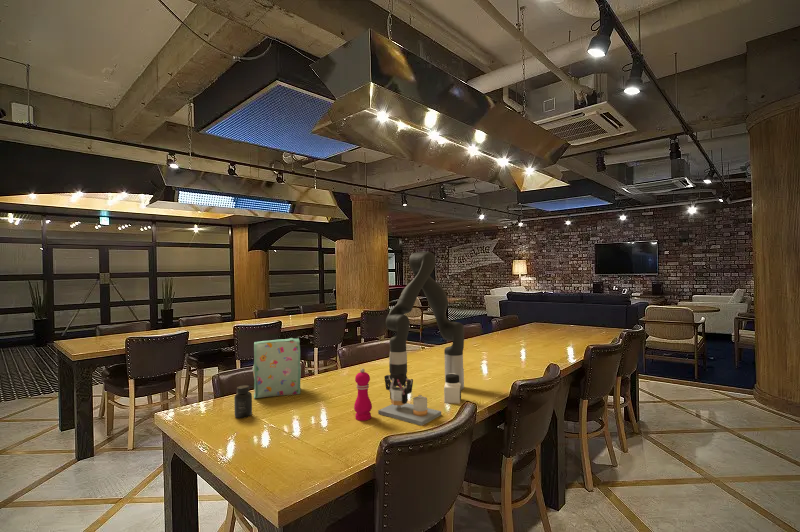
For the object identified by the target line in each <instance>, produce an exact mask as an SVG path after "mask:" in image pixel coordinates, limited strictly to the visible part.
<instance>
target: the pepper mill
mask: <svg viewBox="0 0 800 532" xmlns="http://www.w3.org/2000/svg"><path fill="white" fill-rule="evenodd" d="M370 380H371V376H370V374H369V373H368V372H366V371H365V368H363V367H362V368H361V369H360V372H358V373H357V374H356V375H355V378H354V382H355V383H356V385H355V386H356V389H357V396H356V398H355V402H354V405H353V410H354V411H355V415H354V417H355V419H356V420H357V421H361V422H364V421H368V420H370V419H371V418H372V413H371V411H372V410H373V406H372V401H371V399H370V396H369V388H370V385H369V382H370Z"/></svg>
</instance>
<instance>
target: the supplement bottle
mask: <svg viewBox="0 0 800 532" xmlns="http://www.w3.org/2000/svg"><path fill="white" fill-rule="evenodd" d="M233 400H234V401H233V403H234V404H233V405H234V406H233V407H234V417H235V418H236V419H245V418H244V417H246V418H249V417H251V416H252V414H253V394H252V393H251V392H250V385H245V384H244V385H240V386H237V387H236V394H234V398H233ZM250 415H251V416H250ZM248 416H249V417H248Z"/></svg>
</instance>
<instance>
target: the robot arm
mask: <svg viewBox="0 0 800 532" xmlns="http://www.w3.org/2000/svg"><path fill="white" fill-rule="evenodd" d="M436 259H437V258H436V256H435V254H434V253H432V252H431V251H419V252H412V253H411V254H410V256H409V258H408V260H409V261H408V263H409V267H410V269H411V271H412V272H413V275H414V276H415V277H414V278H413V279H412V280H411V281H410V282H409V283H408V284H407V285H406V286H405V287H404V288H403V289H402V291H401V293H400V295H399V298H398V300H397V303H396V304H395V305H394V307H393V308H392V309H391V310H390V312H389V313H388V314H387V316H386V318H385V326H386V328H387V330H389V331H395V332H396V335H395V336H392V337H390V339H389V354H388V355H389V356H388V357H389V358H388V361H389V362H388V364H389V370H388V371H389V372H388V373H389V374H386V375H385V376H384V384H385V385H384V386H385V390H387V391H389V399H390V400H391V388H394V387H400V390H402V394H403V395H402V400H403V404H405V403H408V401H409V400H408V399H409V398H408V397H409V396H408V395H410V394H412V392H413V386H414V379H413V378H408V355H407V353H408V352H407V340H408V335H409V331H410V328H411V321H410V319H409V317H408V316H407V315H406V314H409V313H411V311H412V310H413V308H414V305H415V303H416V301H417V298H418V296H419V294H420V292H421V291H422V292H423V293H424V296H425V298H426V300H427V302H428V305H429V306H430V307H429V308H431V311H432V313H433V315H434V318H435V320H436V323H437V327H438V330H439V334H440V335H441V337H442V338H443V339H444V340H446V341H452V344H451V346H447V347H445V348H444V350H443V351H444V352H443V353H444V384H445V383H446V375H447V374H451V373H454V374H457V375H459V383H460V384H461V391H463V390H464V389H465V372H464V371H465V369H464V347H465V327H464V324H462V323H461V322H459V321H458V322H456V321H450V320H449V319H448V317H447V313H446V312H447V309H448V304H449V299H448V296H447V294H446V292H445V290H444V288H443V287H442V286H441V285H440V284H439V283H438V282H437V281H436V280H434V279H433V278H432V276H431V274H432V273H433V271H434V269H435V267H436V264H437V263H436V261H437V260H436ZM404 389H405V390H404Z"/></svg>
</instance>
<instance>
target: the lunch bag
mask: <svg viewBox="0 0 800 532" xmlns="http://www.w3.org/2000/svg"><path fill="white" fill-rule="evenodd" d="M300 342H301V340H300V338H299V337H297V338H293V337H290V338H285V339H282V338H281V339H272V340H271V339H270V340H262V341H254V343H253V356H254V357H253V366H252V369H251V370H252V373H253V374H252V375H253V380H254V382H253V383H254V384H253V391H254V393H253V399H261V398H262V399H263V398H269V397H279V396H292V395H293V396H294V395H301V373H302V372H301V371H302V366H301V345H300Z"/></svg>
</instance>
